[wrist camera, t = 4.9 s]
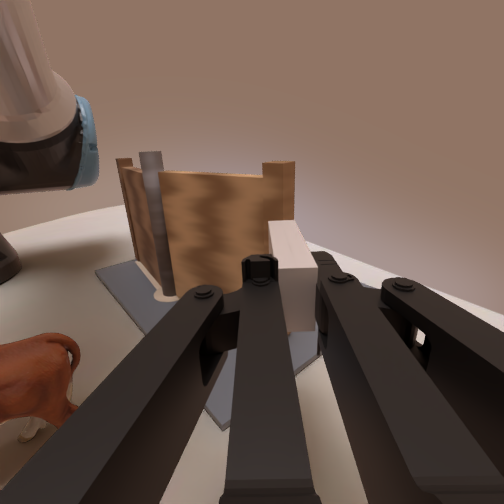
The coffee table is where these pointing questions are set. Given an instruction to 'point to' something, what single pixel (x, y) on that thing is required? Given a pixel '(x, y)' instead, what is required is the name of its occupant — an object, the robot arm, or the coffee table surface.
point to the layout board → (157, 305)
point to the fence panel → (222, 221)
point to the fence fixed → (147, 216)
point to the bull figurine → (37, 381)
